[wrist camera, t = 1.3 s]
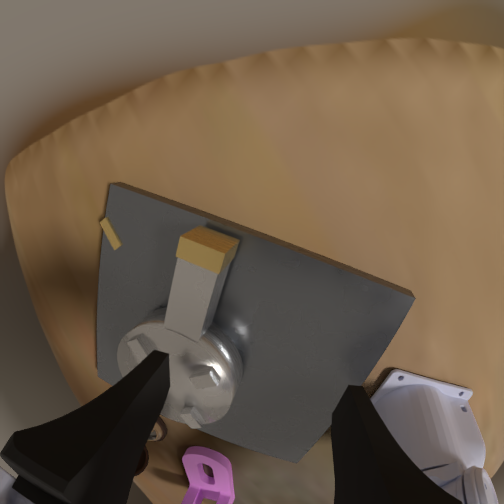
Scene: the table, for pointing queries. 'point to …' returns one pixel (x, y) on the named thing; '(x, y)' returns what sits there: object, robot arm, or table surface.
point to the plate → (251, 318)
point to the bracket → (203, 484)
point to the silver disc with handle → (192, 333)
